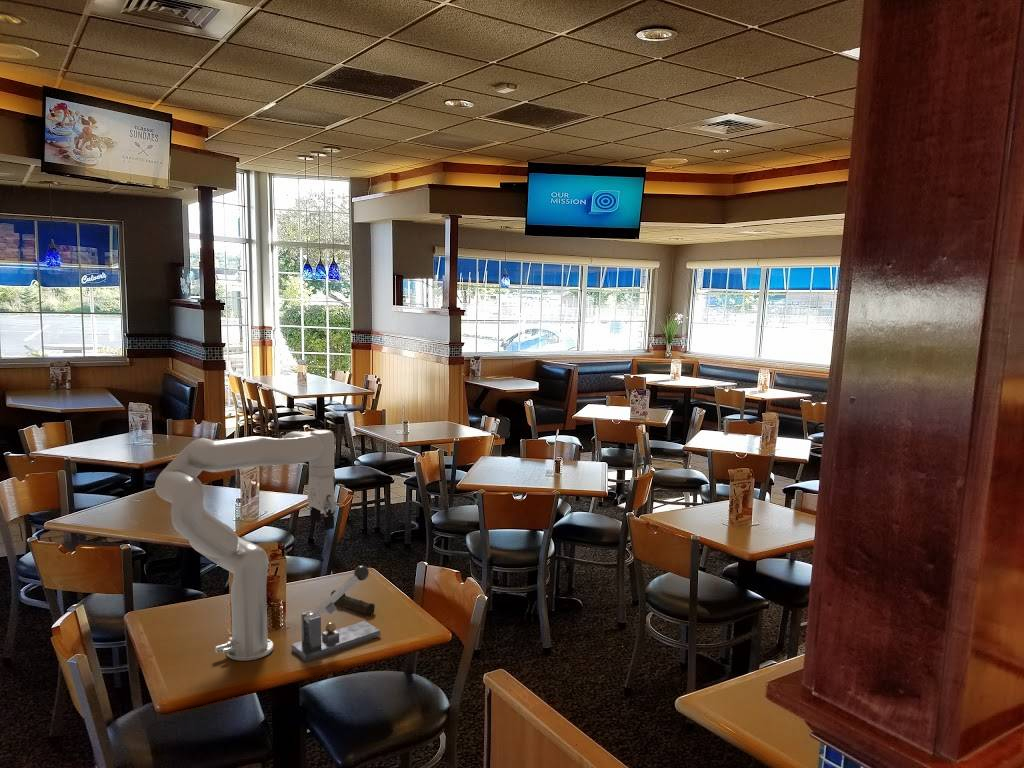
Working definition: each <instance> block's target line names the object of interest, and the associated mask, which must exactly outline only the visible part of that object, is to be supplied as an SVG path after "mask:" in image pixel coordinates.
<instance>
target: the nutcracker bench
mask: <svg viewBox="0 0 1024 768" xmlns="http://www.w3.org/2000/svg"><path fill="white" fill-rule="evenodd" d="M313 611H314V610H308V611H304V612H301V613H300V615H301V616H300V617H301V619H300V620H301V622H300V623H301V640H300V641H296V642H294V643H291V651H292V652H293V653H294V654H295V655H296V656H298V657H299V658H300V659H302V660H303V661H305V662H306V663H308V662H310V661H313V660H316V659H319V658H322V657H325V656H327V655H330V654H334V653H337V652H339V651H342V650H345V649H349V648H351V647H353V646H357V645H360V644H363V643H366V642H368V641H367V640H369V641H371V640H370V639H372V638H375V637H378V636H380V637H381V629H379V628H378V627H376V626H374V625H373V624H371V623H370V622H368V621H366V620H362V621H360V622H356V623H354V624H349V625H347V626H344V627H340V628H338V629H336V628H337V627H336V624H335V623H334V622H332V621H329V622H327V623H326V624H325V626H324V629H325V631H322V617H321V615H320V616H316V617H312V618H309V624H308V623H307V622H305V621H304V615H305V614H306V613H307V612H313ZM378 638H379V637H378ZM375 639H376V638H375ZM372 640H373V639H372ZM365 641H366V642H365Z"/></svg>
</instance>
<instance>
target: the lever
mask: <svg viewBox="0 0 1024 768" xmlns="http://www.w3.org/2000/svg"><path fill="white" fill-rule="evenodd" d="M369 574H370V570H369V569H368V567H367V566H365V565H358V566H357V567H355V569H354V571H353V575H352V576H351V577H350V578H349V579H347V580H346V581H345V582H344V583H342V584H341V586H339V587H338V588H337V589H336V591H335V592H334V593H333V594H332V595H331V594H330V595H331V596H330V595H329V597H327V598H326V599H325V600H324V601H323V602H322V603H321V604H319V606H318V607H316V608H315V609H314V610H312V611H313V612H307V611H306V612H307V613H306V614H305V615H304V621H305V622H307V623H308V624H309V618H312V617H316V616H320V617H321V615H322V614H323V613H324V612H326V613H327V614H329V615H332V614H333V613H334V612H335V611H337V608H338V607H336V606H337V605H335V604H334V602H336V601H337V600H338V599H339V598H340V597H341V596H342V595H343V594H344V593H345V594H346V593H347V592H348V591H349V590H350V589H351V588H352V587H353V586H354V585H356V584H357V583H358V582H359V581H365V580H366V579H367V578H368V577H369Z"/></svg>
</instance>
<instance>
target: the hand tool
mask: <svg viewBox="0 0 1024 768" xmlns="http://www.w3.org/2000/svg"><path fill="white" fill-rule="evenodd" d="M336 590H337V589H336ZM336 590H332V591H331V593H330V595H329V597H330V596H331V595H332V594H333V593H334V592H335V591H336ZM334 605H335V606H337V608H339V607H340V608H342V607H345V608H347V609H350V610H352V611H355V612H358V613H361V614H364V616H365V617H367V616H368V617H369V615H370V616H372V615H373V614H374V613H375V607H376V605H375V604H374V603H373V602H371V603H369V602H366V601H364V600H362V599H360V600H359V599H358V598H357V599H356V598H353V597H350V596H348V595H346V592H345V593H344V594H343V595H342V596H341V597H340V598H339V599H338V600H337V601H336V602H334ZM341 606H342V607H341ZM371 614H372V615H371Z"/></svg>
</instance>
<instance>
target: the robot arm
mask: <svg viewBox="0 0 1024 768" xmlns="http://www.w3.org/2000/svg"><path fill="white" fill-rule="evenodd" d="M307 462H308V484H307V504H308V505H309V511H310V515H309V521H310V522H311V523H318V522H321V516H322V515H321V514H322V513H323V515H324V516H323V520H322V521H323V522H322V523H323V526H322V528H323V530H324V531H328V530H333V529H335V513H336V507H337V505H336V503H335V484H334V482H335V481H334V476H335V434H334V432H333V431H332V430H328V429H316V430H312V431H295V430H294V431H290V432H287V433H286V434H284V436H282V437H281V438H275V437H268V436H257V435H256V436H255V435H254V436H246V437H237V438H229V439H221V440H213V439H209V438H206V437H201V438H196V439H194V440H192V441H191V442H190V443H189V444H187V446H185V447H184V448H183V449H182V450H181V451H180V452H179V453H178V454H177V455H176V456H175V458H174V459H172V461H171V462H169V464H167V466H166V467H165V468H164V469H162V471H161V472H160V473H159V474H158V476H157V477H156V480H155V483H154V490H155V493H156V495H157V496H158V497H159V498H161V499H162V500H164V501H166V502H168V503H171V507H170V509H171V510H170V516H171V517H170V518H171V523H172V526H173V528H174V529H175V531H176V532H177V533H178V534H180V535H181V536H182V537H184V538H185V539H186V540H188V542H189V545H190V547H192V548H193V549H194V551H196V552H198V553H199V554H201V556H204V557H205V558H207V559H208V560H209V561H211V562H213V563H215V564H216V565H217V566H218V567H221V568H223V569H224V570H226V571H228V572H230V573H231V574H233V580H232V583H231V588H230V604H231V605H230V608H231V610H230V611H231V630H232V631H231V635H232V636H231V637H229V638H228V641H226V642H225V643H223V644H222V643H221V644H219V645H215V646H214V650H215V653H216V654H219V653H221V652H222V654H223V655H225V654H226V656H227V657H228V658H229V659H231V660H234V661H240V662H244V661H245V662H246V661H253V660H254V661H255V660H258V659H261V658H263V657H266V656H268V655H269V654H271V652H273V650H274V642H273V641H272V640H271V639H269V638H268V611H267V610H268V607H267V606H268V605H267V604H268V603H267V601H268V600H267V578H268V570H269V556H268V553H267V552H266V551H265V550H264V548H262V547H261V546H260V545H258V544H256V543H253V542H251V541H248V540H246V539H244V538H241V537H240V536H239V535H238V534H237V533H236V532H235V530H234V529H233V528H232V527H231V526H229V525H228V524H226V523H224V522H222V521H221V520H219V519H218V518H217V517H215V516H214V515H212V514H211V513H210V512H209V511H208V510H206V509H205V507H204V497H205V496H204V495H205V489H204V486H203V483H202V481H201V480H200V479H199V478H198V476H199V475H200V474H201V473H202V472H203V471H204V472H209V473H220V472H226V471H233V470H240V469H245V468H246V469H247V468H252V467H270V466H283V465H285V466H286V465H295V464H302V463H307ZM321 510H322V513H321Z"/></svg>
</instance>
